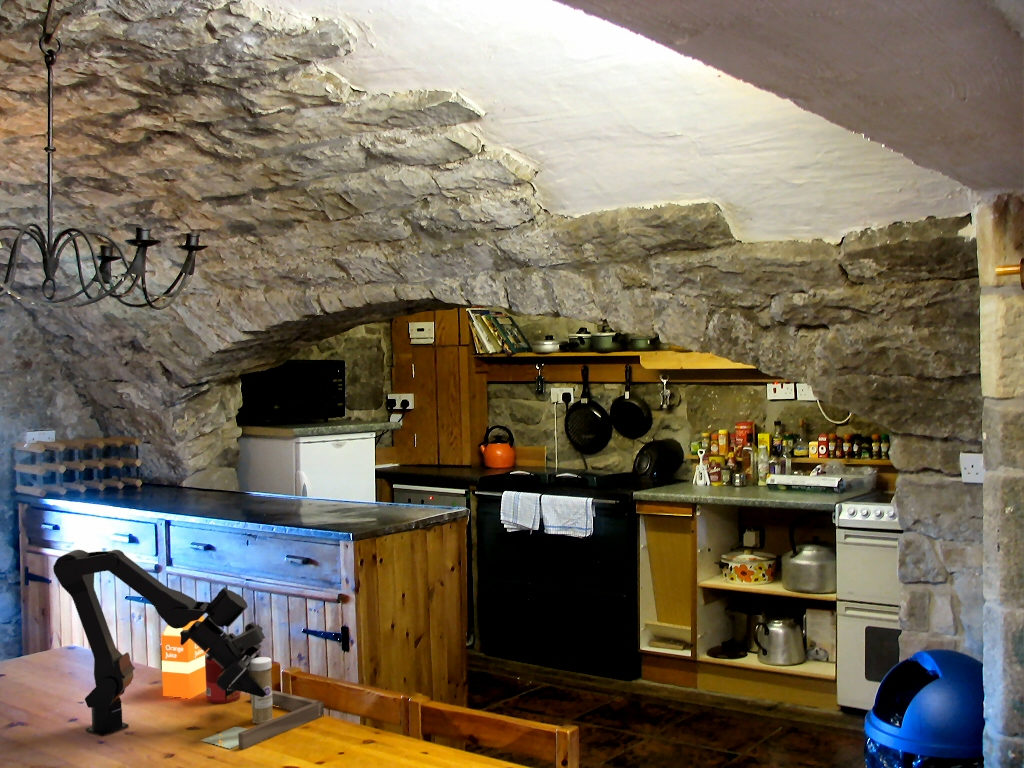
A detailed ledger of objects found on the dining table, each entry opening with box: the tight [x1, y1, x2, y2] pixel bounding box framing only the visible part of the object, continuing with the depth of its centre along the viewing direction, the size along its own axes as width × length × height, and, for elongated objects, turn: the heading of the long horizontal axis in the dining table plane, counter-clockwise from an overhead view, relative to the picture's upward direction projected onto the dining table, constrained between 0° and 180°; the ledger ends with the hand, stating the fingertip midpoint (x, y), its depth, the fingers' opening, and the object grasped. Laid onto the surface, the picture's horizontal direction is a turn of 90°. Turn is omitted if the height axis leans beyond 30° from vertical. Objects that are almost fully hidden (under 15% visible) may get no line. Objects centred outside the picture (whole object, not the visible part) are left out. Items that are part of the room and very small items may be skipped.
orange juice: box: [160, 615, 206, 700], centre depth 229 cm, size 8×9×20 cm
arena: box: [200, 689, 325, 750], centre depth 206 cm, size 22×24×3 cm
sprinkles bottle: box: [250, 656, 274, 725], centre depth 207 cm, size 5×5×14 cm
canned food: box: [205, 653, 242, 704], centre depth 223 cm, size 8×8×11 cm
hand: (268, 690), depth 207 cm, fingers open, 7 cm apart
